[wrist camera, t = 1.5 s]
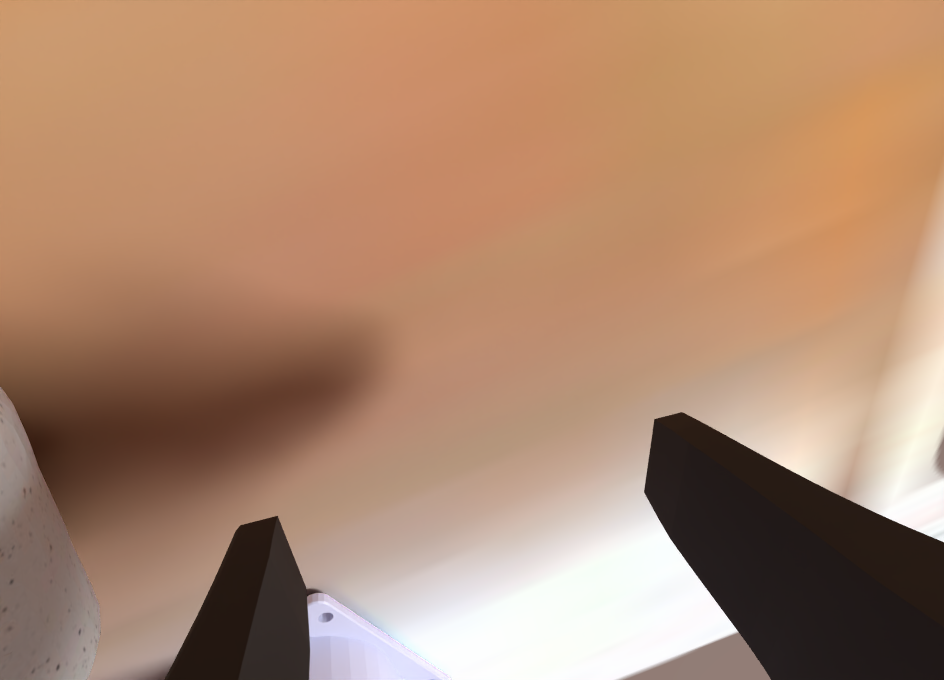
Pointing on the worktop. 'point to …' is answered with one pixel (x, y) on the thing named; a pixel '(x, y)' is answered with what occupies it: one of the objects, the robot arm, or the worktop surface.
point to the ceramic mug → (39, 572)
